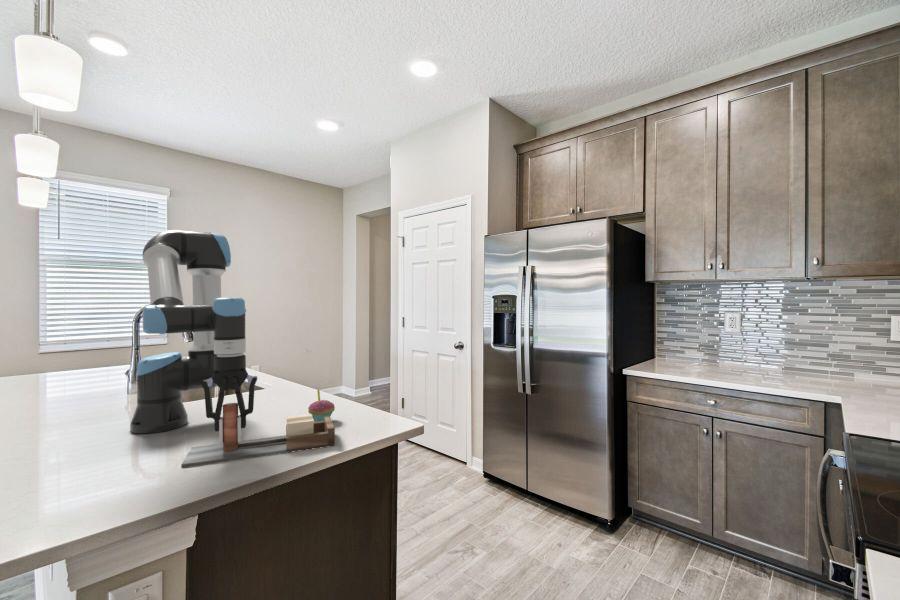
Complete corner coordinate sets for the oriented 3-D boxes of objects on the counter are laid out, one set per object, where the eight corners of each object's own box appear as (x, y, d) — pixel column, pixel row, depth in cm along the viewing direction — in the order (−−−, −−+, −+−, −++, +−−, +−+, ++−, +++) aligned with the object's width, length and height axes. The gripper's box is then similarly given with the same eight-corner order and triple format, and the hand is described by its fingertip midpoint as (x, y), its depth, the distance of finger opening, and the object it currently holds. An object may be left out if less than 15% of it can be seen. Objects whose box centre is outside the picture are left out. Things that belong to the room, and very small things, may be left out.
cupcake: (326, 426, 129) (326, 389, 129) (302, 425, 130) (302, 388, 130) (339, 418, 137) (338, 384, 137) (316, 417, 139) (316, 383, 139)
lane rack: (192, 450, 109) (191, 431, 109) (330, 432, 123) (330, 416, 123) (181, 467, 98) (181, 447, 98) (334, 445, 112) (334, 428, 112)
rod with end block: (225, 445, 110) (224, 402, 110) (311, 434, 119) (311, 394, 119) (221, 454, 104) (220, 408, 104) (313, 442, 113) (313, 399, 112)
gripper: (190, 358, 101) (191, 450, 101) (263, 354, 107) (264, 441, 107) (196, 354, 108) (197, 441, 108) (264, 351, 114) (265, 432, 114)
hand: (230, 441), depth 108 cm, fingers closed on rod with end block, 4 cm apart
